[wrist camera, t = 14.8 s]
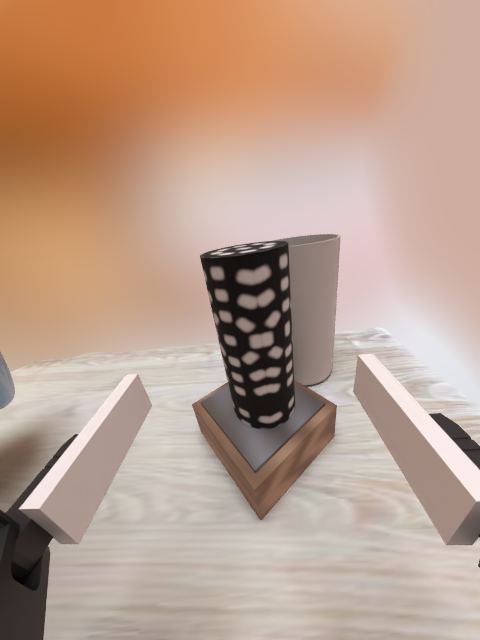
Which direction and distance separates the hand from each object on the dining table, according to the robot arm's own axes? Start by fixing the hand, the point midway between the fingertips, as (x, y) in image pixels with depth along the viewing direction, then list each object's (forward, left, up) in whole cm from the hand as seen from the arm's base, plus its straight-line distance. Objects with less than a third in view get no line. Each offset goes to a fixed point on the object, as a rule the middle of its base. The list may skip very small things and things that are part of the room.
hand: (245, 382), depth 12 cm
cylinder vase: (+23, +14, -20) cm, 34 cm away
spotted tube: (+7, +8, -14) cm, 17 cm away
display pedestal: (+7, +8, -20) cm, 23 cm away
